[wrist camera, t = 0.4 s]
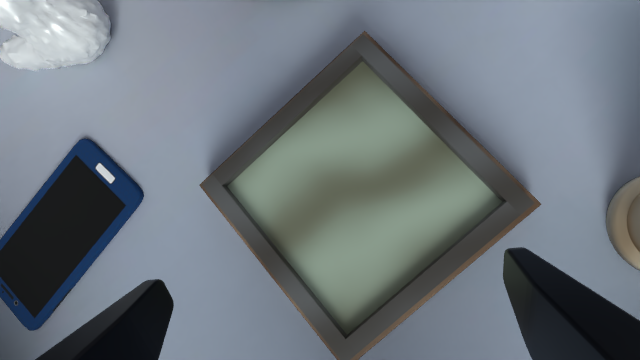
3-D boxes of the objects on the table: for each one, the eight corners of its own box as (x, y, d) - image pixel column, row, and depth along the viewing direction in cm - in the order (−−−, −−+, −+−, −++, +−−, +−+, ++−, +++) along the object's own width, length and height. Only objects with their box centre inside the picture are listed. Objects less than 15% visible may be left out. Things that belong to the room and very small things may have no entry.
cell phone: (150, 195, 27) (144, 194, 26) (39, 333, 28) (29, 336, 27) (90, 135, 29) (82, 133, 28) (-15, 268, 29) (-25, 269, 28)
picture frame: (531, 204, 22) (549, 203, 20) (348, 360, 23) (343, 377, 21) (365, 41, 25) (363, 22, 22) (209, 186, 26) (191, 183, 23)
